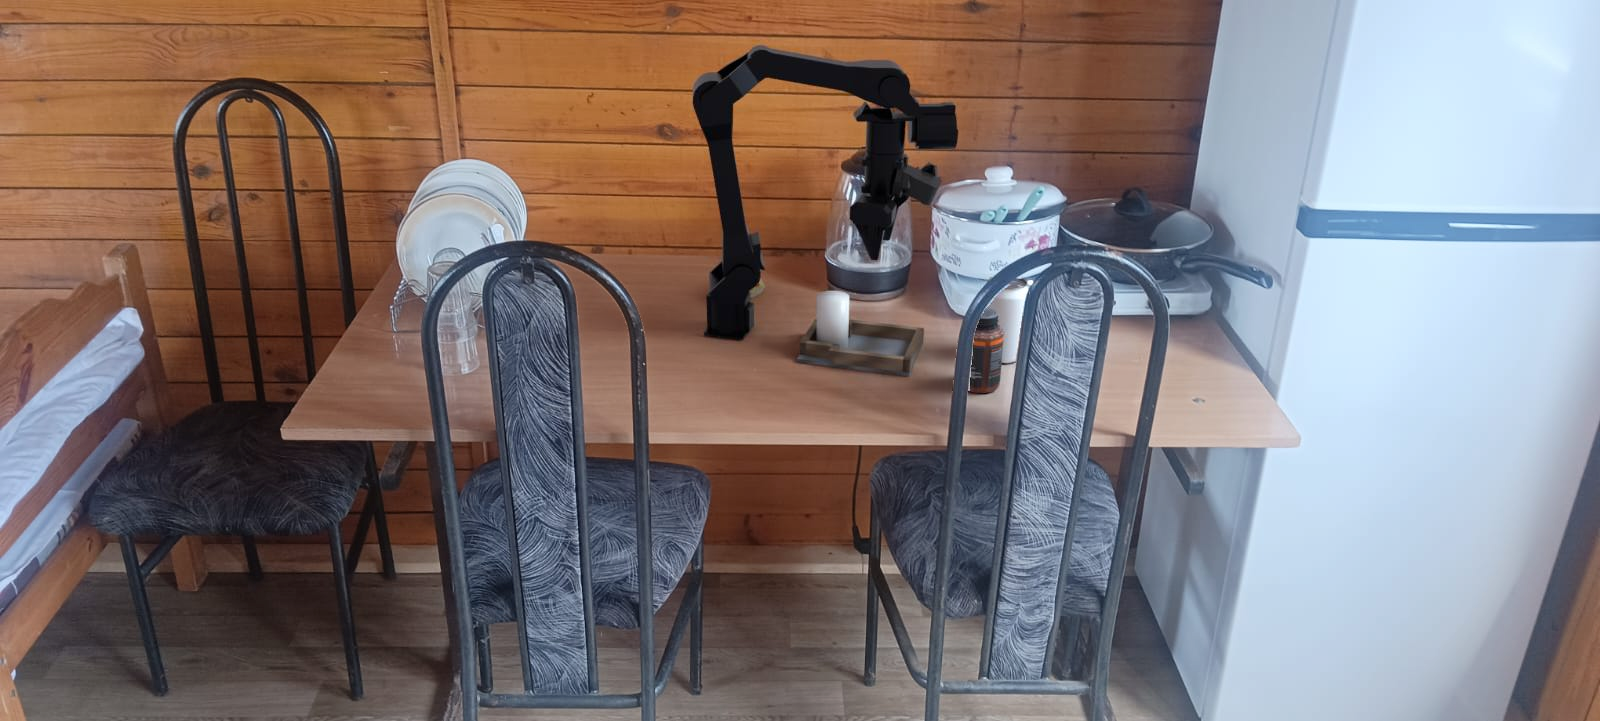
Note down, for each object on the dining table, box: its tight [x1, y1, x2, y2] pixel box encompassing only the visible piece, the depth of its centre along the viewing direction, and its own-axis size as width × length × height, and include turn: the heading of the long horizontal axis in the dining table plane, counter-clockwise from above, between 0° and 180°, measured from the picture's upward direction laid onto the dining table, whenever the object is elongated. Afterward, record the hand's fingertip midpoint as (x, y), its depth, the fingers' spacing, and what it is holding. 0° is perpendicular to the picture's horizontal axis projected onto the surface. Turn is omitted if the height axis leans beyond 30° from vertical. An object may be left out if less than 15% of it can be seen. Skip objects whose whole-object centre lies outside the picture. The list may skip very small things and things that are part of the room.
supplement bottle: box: [969, 308, 1004, 394], centre depth 161 cm, size 6×6×11 cm
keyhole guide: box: [796, 318, 925, 377], centre depth 173 cm, size 17×12×3 cm
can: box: [987, 275, 1029, 365], centre depth 170 cm, size 6×6×12 cm
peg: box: [816, 290, 850, 349], centre depth 172 cm, size 5×5×8 cm
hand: (880, 249), depth 176 cm, fingers open, 9 cm apart
